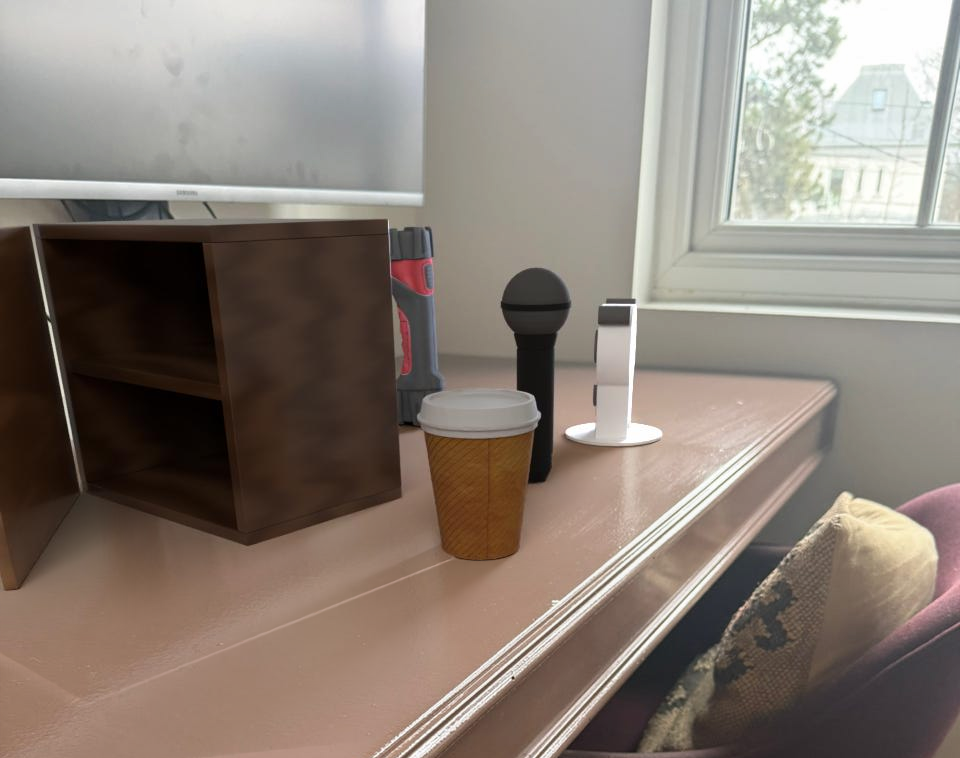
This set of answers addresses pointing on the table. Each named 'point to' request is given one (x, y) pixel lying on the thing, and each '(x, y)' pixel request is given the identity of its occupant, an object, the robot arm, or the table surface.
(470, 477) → the disposable coffee cup
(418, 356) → the flashlight
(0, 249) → the cupboard door
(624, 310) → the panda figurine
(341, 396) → the cupboard
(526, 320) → the microphone
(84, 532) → the table surface
